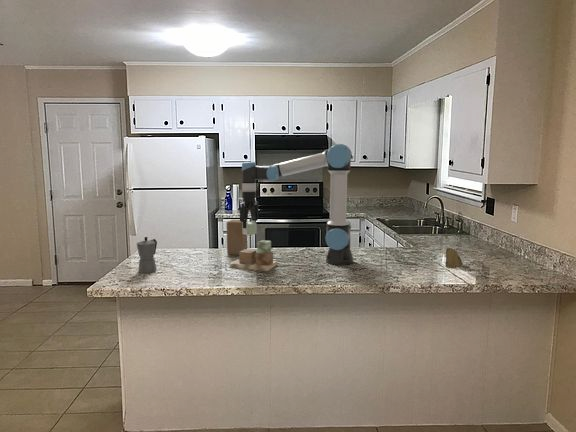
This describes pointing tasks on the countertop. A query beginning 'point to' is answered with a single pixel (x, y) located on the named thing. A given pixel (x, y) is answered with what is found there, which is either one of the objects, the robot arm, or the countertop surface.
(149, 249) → the coffeepot
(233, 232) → the block
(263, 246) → the tower
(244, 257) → the walnut block
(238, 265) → the blueprint board
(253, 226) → the sage block
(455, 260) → the rock
